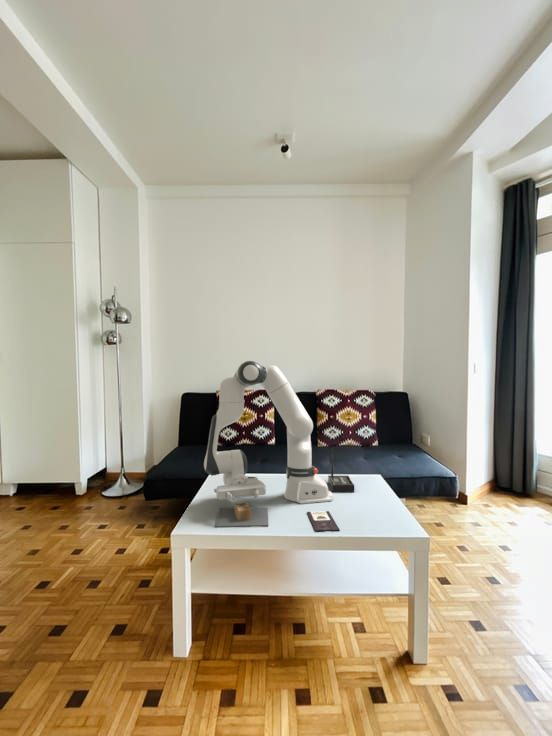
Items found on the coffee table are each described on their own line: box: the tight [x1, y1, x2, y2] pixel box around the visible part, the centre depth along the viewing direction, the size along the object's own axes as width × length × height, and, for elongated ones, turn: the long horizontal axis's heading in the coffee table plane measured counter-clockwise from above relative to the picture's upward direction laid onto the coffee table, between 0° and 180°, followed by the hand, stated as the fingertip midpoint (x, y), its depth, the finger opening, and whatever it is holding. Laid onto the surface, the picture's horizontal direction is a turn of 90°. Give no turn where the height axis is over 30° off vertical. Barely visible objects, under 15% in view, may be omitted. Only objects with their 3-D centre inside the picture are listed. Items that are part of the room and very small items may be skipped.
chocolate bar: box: [306, 510, 341, 533], centre depth 149 cm, size 9×1×18 cm
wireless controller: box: [327, 448, 355, 493], centre depth 193 cm, size 20×14×17 cm
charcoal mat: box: [214, 506, 269, 528], centre depth 153 cm, size 20×18×1 cm
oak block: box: [234, 502, 252, 521], centre depth 153 cm, size 5×4×8 cm
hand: (244, 496), depth 150 cm, fingers open, 8 cm apart
